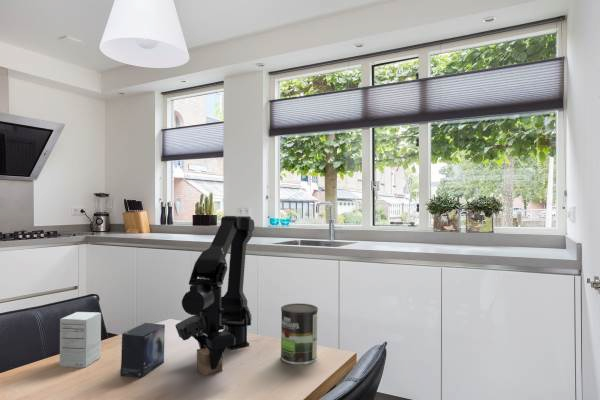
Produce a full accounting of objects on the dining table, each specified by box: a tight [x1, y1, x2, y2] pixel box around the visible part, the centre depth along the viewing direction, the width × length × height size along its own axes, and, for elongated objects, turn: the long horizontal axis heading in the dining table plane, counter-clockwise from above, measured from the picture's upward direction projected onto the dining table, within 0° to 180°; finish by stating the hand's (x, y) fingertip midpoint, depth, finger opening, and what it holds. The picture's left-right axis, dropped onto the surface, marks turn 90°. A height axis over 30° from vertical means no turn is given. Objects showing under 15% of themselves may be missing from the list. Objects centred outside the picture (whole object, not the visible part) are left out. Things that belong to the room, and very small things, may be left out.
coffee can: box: [280, 303, 319, 366], centre depth 114 cm, size 10×10×14 cm
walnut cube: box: [196, 348, 224, 376], centre depth 105 cm, size 5×5×5 cm
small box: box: [119, 322, 166, 378], centre depth 106 cm, size 11×6×10 cm, turn 168°
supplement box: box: [59, 311, 102, 368], centre depth 110 cm, size 7×7×13 cm
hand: (209, 365), depth 105 cm, fingers closed on walnut cube, 5 cm apart
